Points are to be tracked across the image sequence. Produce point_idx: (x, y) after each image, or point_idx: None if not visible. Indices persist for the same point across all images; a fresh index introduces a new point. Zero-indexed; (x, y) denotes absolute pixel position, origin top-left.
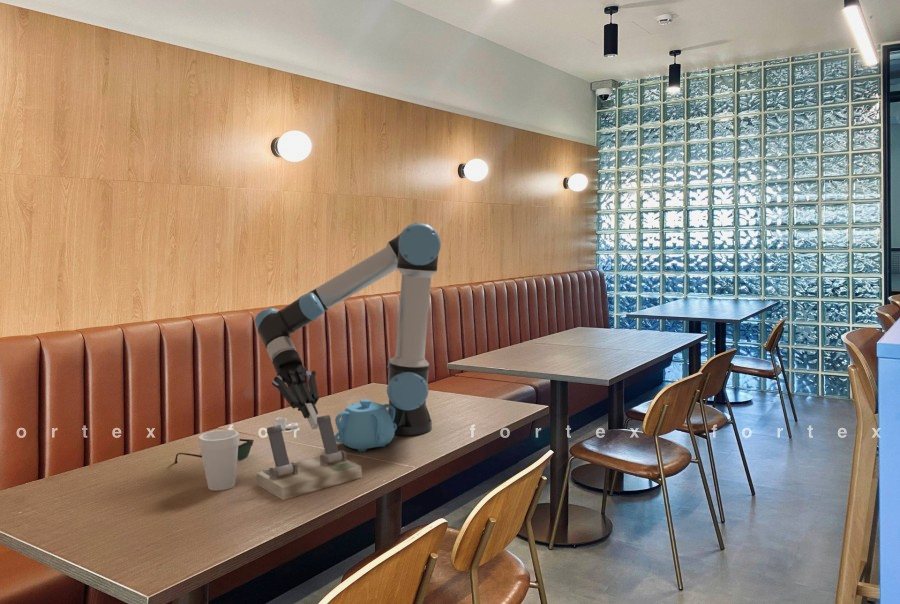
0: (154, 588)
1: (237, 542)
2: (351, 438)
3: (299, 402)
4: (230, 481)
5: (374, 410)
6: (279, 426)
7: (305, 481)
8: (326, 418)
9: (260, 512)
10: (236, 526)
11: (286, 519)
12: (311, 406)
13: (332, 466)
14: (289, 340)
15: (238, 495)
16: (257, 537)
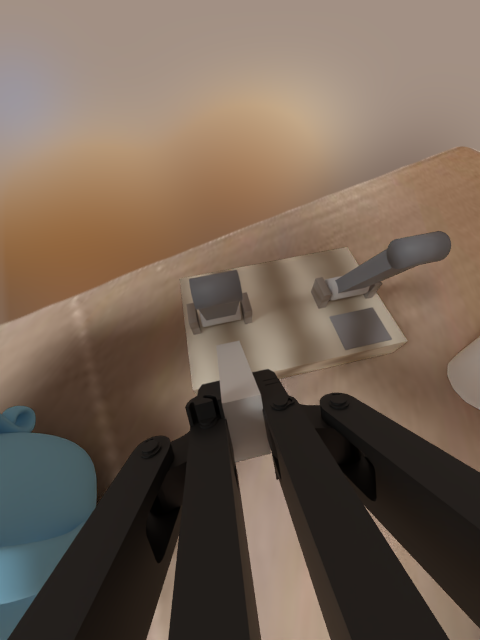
0: (463, 150)
1: (397, 187)
2: (84, 466)
3: (309, 419)
4: (463, 349)
5: None
6: (403, 238)
7: (302, 255)
8: (207, 275)
9: (375, 239)
10: (405, 216)
11: (338, 211)
12: (229, 385)
13: None
14: None
15: (424, 312)
16: (374, 188)
